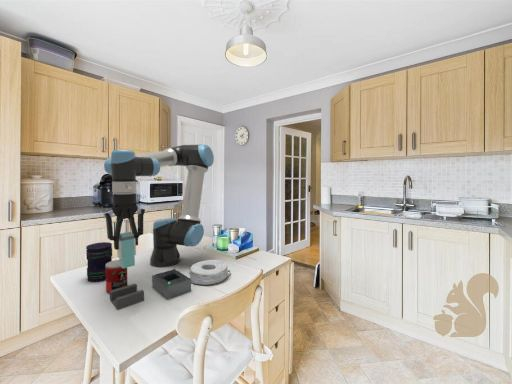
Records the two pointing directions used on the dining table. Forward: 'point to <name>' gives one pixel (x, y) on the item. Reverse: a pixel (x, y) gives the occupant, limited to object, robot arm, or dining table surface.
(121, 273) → the canned food
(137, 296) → the grey slotted cradle
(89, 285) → the dining table surface
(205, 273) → the cable
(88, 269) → the storage jar
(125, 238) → the plug
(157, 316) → the dining table surface
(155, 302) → the dining table surface
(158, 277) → the grey socket block
